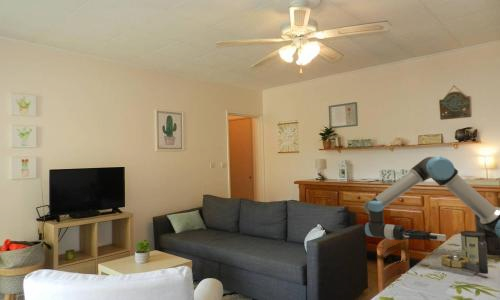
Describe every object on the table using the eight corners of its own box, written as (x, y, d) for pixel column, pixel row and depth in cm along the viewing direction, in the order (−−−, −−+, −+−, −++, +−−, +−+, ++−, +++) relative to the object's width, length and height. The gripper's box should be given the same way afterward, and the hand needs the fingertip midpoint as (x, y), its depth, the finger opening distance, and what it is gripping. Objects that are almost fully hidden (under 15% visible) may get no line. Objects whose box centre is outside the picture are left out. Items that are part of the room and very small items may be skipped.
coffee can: (480, 258, 173) (479, 230, 174) (490, 264, 163) (488, 235, 164) (458, 257, 175) (457, 230, 176) (467, 263, 165) (465, 235, 166)
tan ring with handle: (436, 261, 165) (434, 234, 165) (454, 258, 168) (452, 232, 169) (477, 275, 144) (475, 244, 145) (497, 271, 148) (495, 241, 148)
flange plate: (440, 259, 174) (440, 248, 174) (487, 267, 159) (487, 255, 160) (429, 268, 161) (428, 256, 161) (478, 277, 147) (477, 264, 147)
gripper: (400, 237, 180) (450, 243, 163) (390, 242, 171) (441, 249, 154) (399, 223, 180) (448, 227, 164) (389, 227, 171) (440, 232, 154)
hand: (445, 238), depth 159 cm, fingers closed
